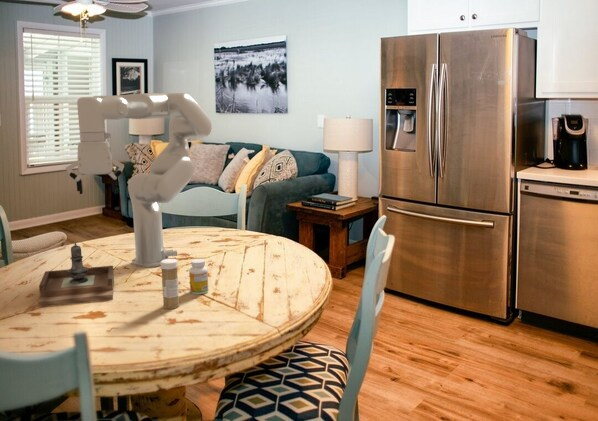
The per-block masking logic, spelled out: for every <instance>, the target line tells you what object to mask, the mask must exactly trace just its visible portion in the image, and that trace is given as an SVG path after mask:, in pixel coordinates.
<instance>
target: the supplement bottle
mask: <svg viewBox="0 0 598 421" xmlns="http://www.w3.org/2000/svg"><path fill="white" fill-rule="evenodd" d="M190 262H191V267H190V269H189V288H190V289H189V291H190V293H191V294H193V295H203V294H207V293H208V292H209V274H208V273H209V271H208V267H206V261H205V259H203V258H195V259H192V260H191V261H190Z"/></svg>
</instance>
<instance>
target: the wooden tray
mask: <svg viewBox="0 0 598 421" xmlns="http://www.w3.org/2000/svg"><path fill="white" fill-rule="evenodd" d="M87 268H88V270H87V274H86V276H85V277H84V278H87V279H88V281H87V282H84V283H80V284H72V283H70V280H72V279H73V278H71V277H70V275H69V272H68V270H69V269H70V268H67V269H57V270H46V271H44V273H43V276H42V278H41V280H40V282H39V285H38V287H39V288H38V289H39V299H38V301H37V302H38V307H39V308H42V307H51V306H60V305H61V306H62V305H63V306H64V305H70V304H71V305H72V304H80V303H81V304H83V303H90V302H99V301H100V302H101V301H110V300H114V288H115V287H114V286H115V285H114V284H115V278H114V275H115V274H114V266H113V265H105V266H103V265H102V266H95V267H94V266H93V267H92V266H91V267H87Z"/></svg>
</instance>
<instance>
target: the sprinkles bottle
mask: <svg viewBox="0 0 598 421" xmlns="http://www.w3.org/2000/svg"><path fill="white" fill-rule="evenodd" d="M178 264H179V263H178V260H177V259H175V258H169V259H165V260H162V261H161V265H160V269H161V283H162V285H161V286H162V287H161V288H162V301H163V306H162V307H163V308H164V309H167V310H169V309H177V308H178V307H179V306H180V303H179V302H180V301H179V300H180V299H179V294H180V293H179V277H178V266H179V265H178Z"/></svg>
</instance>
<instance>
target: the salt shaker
mask: <svg viewBox="0 0 598 421" xmlns="http://www.w3.org/2000/svg"><path fill="white" fill-rule="evenodd" d="M70 255H71V256H70V260H71V267H70V268H68V269H69V270H68V269H67V270H68V272H69V275H70V277H71V278H73V279H72V280H70V283H72V284H80V283H84V282H87V281H88V279H87V278H84V277H85V276H86V274H87V270H88V268H89V267H86V266H84V264H83V258H84V256H83V255H82V247H81V246H80V245H78V244H77V242H74V244H73V246H71V248H70Z"/></svg>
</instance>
